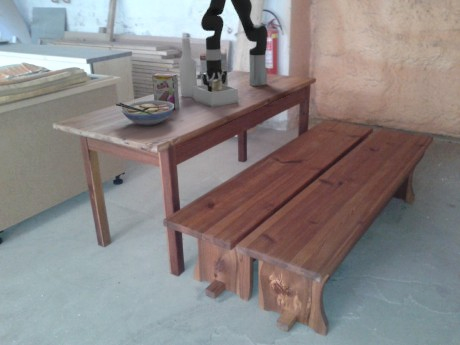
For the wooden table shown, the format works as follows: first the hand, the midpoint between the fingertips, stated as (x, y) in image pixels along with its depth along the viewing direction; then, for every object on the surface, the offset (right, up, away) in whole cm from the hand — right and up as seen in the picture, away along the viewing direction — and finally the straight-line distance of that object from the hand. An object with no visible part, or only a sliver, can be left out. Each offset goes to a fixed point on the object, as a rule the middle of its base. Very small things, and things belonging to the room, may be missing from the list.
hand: (215, 92), depth 230 cm
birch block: (0, -1, +1) cm, 1 cm away
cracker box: (-1, +4, +22) cm, 22 cm away
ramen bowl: (-28, -19, -32) cm, 46 cm away
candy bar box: (-23, -10, -9) cm, 26 cm away
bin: (0, -4, +2) cm, 4 cm away
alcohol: (-14, +1, +14) cm, 20 cm away
